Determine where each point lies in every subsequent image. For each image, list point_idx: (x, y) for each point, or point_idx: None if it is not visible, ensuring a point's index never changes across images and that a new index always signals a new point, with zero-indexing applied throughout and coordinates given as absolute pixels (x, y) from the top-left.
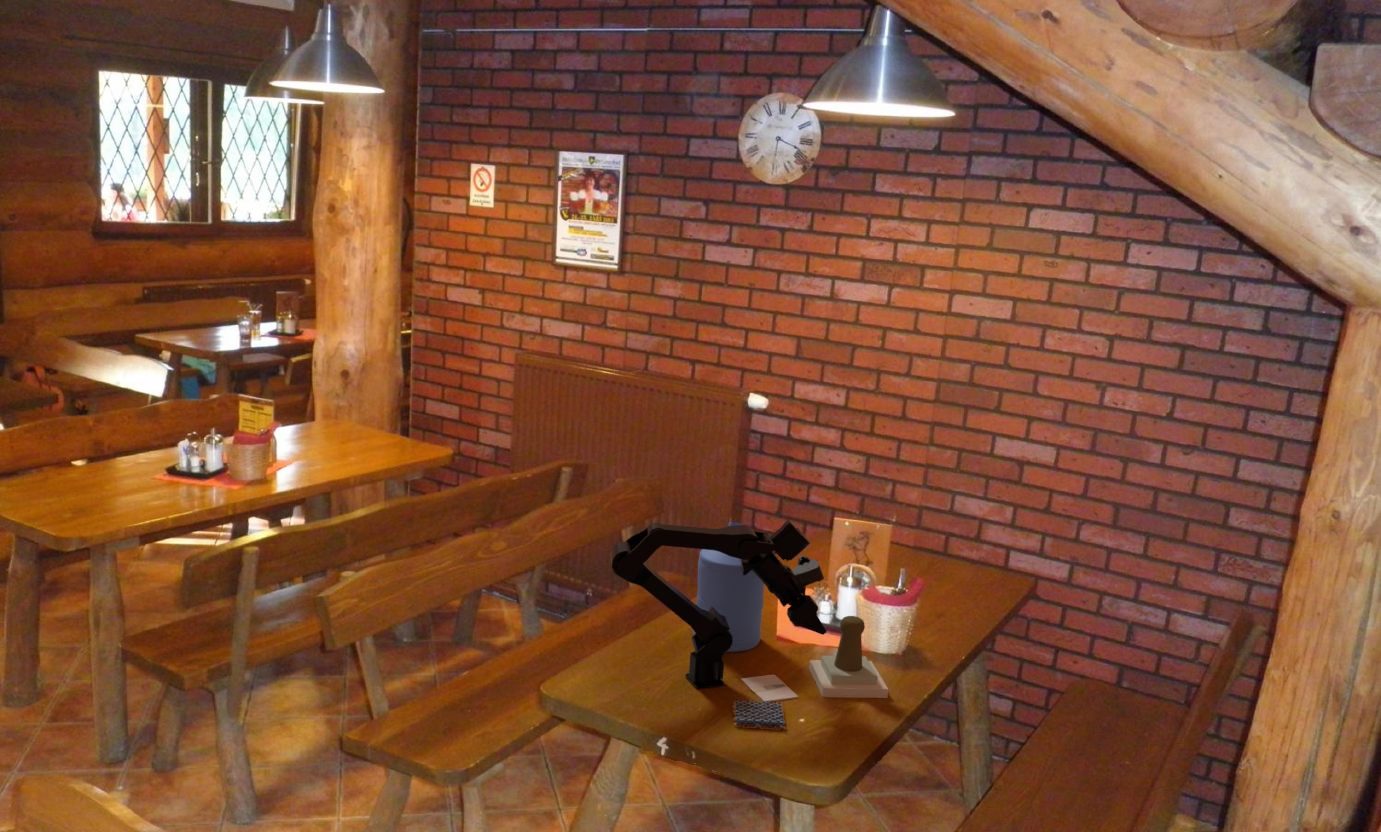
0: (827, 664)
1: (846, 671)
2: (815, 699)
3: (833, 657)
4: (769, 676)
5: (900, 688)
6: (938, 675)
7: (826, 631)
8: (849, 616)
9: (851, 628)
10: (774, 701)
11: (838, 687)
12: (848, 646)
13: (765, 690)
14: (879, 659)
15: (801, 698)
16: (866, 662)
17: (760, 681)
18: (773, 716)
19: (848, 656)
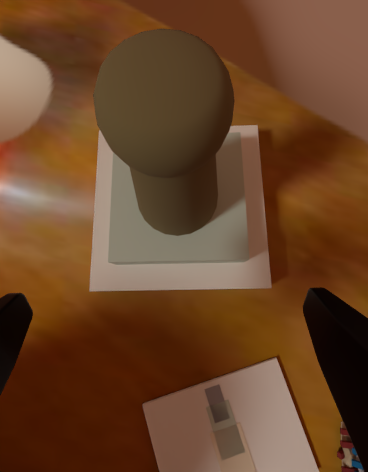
0: (171, 256)
1: (217, 209)
2: (279, 310)
3: (121, 227)
4: (156, 423)
5: None
6: (136, 19)
7: (322, 288)
8: (126, 88)
9: (229, 119)
10: (357, 455)
11: (261, 245)
12: (211, 176)
13: (251, 455)
14: (54, 113)
15: (278, 348)
16: None
17: (190, 460)
18: None
19: (215, 189)
